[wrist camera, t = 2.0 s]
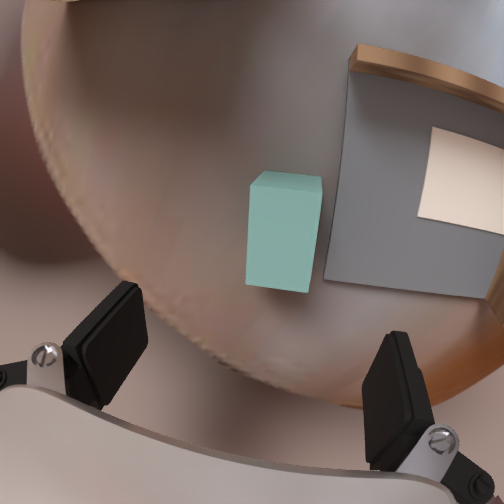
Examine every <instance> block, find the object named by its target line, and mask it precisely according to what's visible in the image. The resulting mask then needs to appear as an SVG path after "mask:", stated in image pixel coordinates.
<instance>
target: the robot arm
mask: <svg viewBox="0 0 504 504" xmlns="http://www.w3.org/2000/svg"><path fill="white" fill-rule="evenodd" d="M147 344H148V335H147V328H146V321H145V313H144V305H143V296H142V290H141V288H139V287H138V284H136V283H133V282H128V281H122V282H121V283H120V284H119V285H118V286H117V287H116V288H115V289H114V290H113V291H112V292H111V293H110V294H109V295H108V296H107V297H106V298H105V299H104V300H103V301H102V302H101V303H100V304H99V305H98V306H97V307H96V308H95V309H94V310H93V311H92V312H91V313H90V314H89V315H88V316H87V317H86V318H85V319H84V320H83V321H82V322H81V323H80V324H79V325H78V326H77V327H76V328H75V329H74V330H73V332H72V333H71V334H70V335H69V336H68V337H67V338H66V339H65V340H64V341H63V345H62V346H61V347H59V346H58V345H57V344H55V343H51V342H45V343H41V344H39V345H37V346H35V347H34V348H33V349H32V350H31V351H30V353H29V355H28V360H25V361H21V362H15V363H10V364H5V365H0V504H504V503H503V502H502V500H501V499H500V498H499V496H496V497H494V495H493V493H494V488H495V485H494V481H493V479H492V477H491V476H490V475H489V474H488V473H487V472H486V471H484V470H483V469H482V468H480V467H479V466H478V465H476V464H475V463H474V462H472V461H471V460H470V459H468V458H467V457H466V456H464V455H463V454H461V453H460V452H459V451H458V449H459V438H458V435H457V434H456V432H455V431H454V430H453V429H452V428H451V427H449V426H447V425H445V424H435V421H434V417H433V413H432V409H431V405H430V401H429V397H428V393H427V389H426V386H425V382H424V378H423V375H422V372H421V370H420V369H419V368H418V366H417V363H416V359H415V356H414V353H413V349H412V346H411V343H410V340H409V337H408V334H407V333H406V332H401V331H391V333H390V334H386V335H385V337H384V339H383V342H382V344H381V346H380V348H379V350H378V353H377V355H376V357H375V359H374V361H373V363H372V365H371V367H370V369H369V371H368V373H367V375H366V377H365V379H364V381H363V384H362V399H363V413H364V428H365V429H364V430H365V453H366V462H367V463H370V470H380V471H360V470H342V469H329V468H316V467H307V466H298V465H290V464H283V463H276V462H270V461H265V460H259V459H254V458H248V457H243V456H239V455H234V454H230V453H225V452H221V451H217V450H213V449H209V448H205V447H201V446H198V445H194V444H190V443H187V442H184V441H181V440H177V439H174V438H171V437H168V436H165V435H161V434H159V433H156V432H153V431H150V430H147V429H145V428H142V427H139V426H136V425H134V424H131V423H129V422H126V421H124V420H121V419H119V418H116V417H114V416H111V415H109V414H107V413H104V412H102V411H101V410H102V408H103V407H104V405H108V404H109V403H110V402H111V400H112V399H113V397H114V396H115V394H116V393H117V391H118V390H119V388H120V386H121V385H122V383H123V382H124V380H125V379H126V377H127V376H128V374H129V373H130V371H131V370H132V368H133V367H134V365H135V364H136V362H137V361H138V359H139V358H140V356H141V355H142V353H143V352H144V350H145V349H146V347H147ZM95 408H96V409H95ZM97 409H98V410H97Z"/></svg>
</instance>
